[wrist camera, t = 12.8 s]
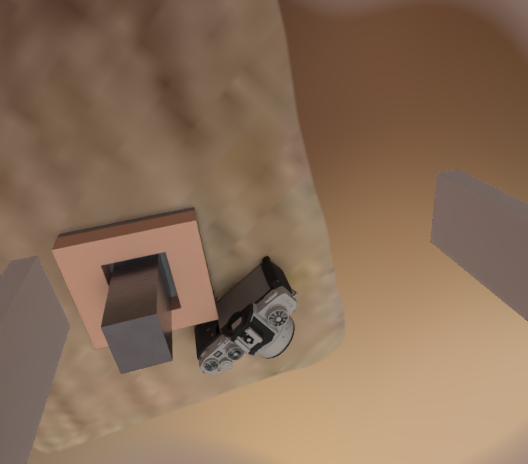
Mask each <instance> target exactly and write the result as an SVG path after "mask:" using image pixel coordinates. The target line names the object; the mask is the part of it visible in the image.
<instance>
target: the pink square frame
mask: <svg viewBox="0 0 528 464" xmlns="http://www.w3.org/2000/svg"><path fill="white" fill-rule="evenodd" d="M52 252H53V254H54V256H55V259H56V261H57V263H58V265H59V268H60V270H61V272H62V274H63V277H64V279H65V281H66V283H67V286H68V288H69V290H70V293H71V295H72V297H73V299H74V302H75V304H76V306H77V308H78V311H79V313H80V315H81V317H82V320H83V322H84V324H85V326H86V329H87V331H88V333H89V335H90V338H91V340H92V342H93V344H94V347H95V349H97V348H101V347H106V346H109V345H108V343H107V341H106V339H105V336H104V334H103V332H102V330H101V323H102V318H103V314H104V309H105V304H106V299H107V295H108V290H109V285H110V280H111V276H112V271H113V266H114V263H115V262H120V261H125V260H129V259H134V258H139V257H143V256H148V255H153V254H157V253H160V256H161V260H162V263H163V266H164V269H165V273H166V276H167V279H168V282H169V286H170V289H171V315H172V330H176V329H180V328H184V327H188V326H193V325H197V324H201V323H205V322H209V321H213V320H218V319H219V318H218V313H217V308H216V302H215V298H214V293H213V289H212V285H211V280H210V276H209V271H208V267H207V263H206V258H205V254H204V249H203V245H202V241H201V236H200V232H199V227H198V223H197V219H196V214H195V210H194V208H189V209H184V210H179V211H174V212H169V213H164V214H159V215H154V216H149V217H144V218H139V219H134V220H129V221H124V222H119V223H114V224H109V225H104V226H99V227H95V228H90V229H85V230H80V231H75V232H70V233H65V234H60V235H59V236H58V238H57V240H56V242H55V244H54V246H53V248H52Z"/></svg>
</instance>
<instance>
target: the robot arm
mask: <svg viewBox="0 0 528 464" xmlns="http://www.w3.org/2000/svg"><path fill="white" fill-rule="evenodd" d="M431 243H432V244H434V245H435V246H436V247H437V248H439V249H440V250H441V251H442V252H443V253H445V254H446V255H447V256H449V257H450V258H451V259H452V260H453V261H455V262H456V263H457V264H458V265H459V266H461V267H462V268H463V269H464V270H466V271H467V272H468V273H469V274H470V275H472V276H473V277H474V278H475V279H476V280H478V281H479V282H480V283H481V284H483V285H484V286H485V287H487V288H488V289H489V290H490V291H491V292H492V293H494V294H495V295H496V296H497V297H499V298H500V299H501V300H502V301H503V302H505V303H506V304H507V305H508V306H510V307H511V308H512V309H513V310H514V311H516V312H517V313H518V314H519V315H521V316H522V317H523V318H524V319H525V320H527V321H528V204H527V203H525V202H523V201H521V200H519V199H517V198H515V197H513V196H511V195H509V194H507V193H505V192H503V191H501V190H499V189H497V188H495V187H492V186H490V185H488V184H486V183H484V182H482V181H480V180H478V179H476V178H474V177H472V176H470V175H468V174H466V173H464V172H462V171H460V170H458V169H455V170H450V171H445V172H441V173H437V177H436V188H435V198H434V209H433V220H432V230H431ZM69 327H70V324H69V321H68V319H67V317H66V315H65V313H64V311H63V309H62V307H61V304H60V302H59V300H58V298H57V296H56V294H55V292H54V289H53V287H52V285H51V283H50V281H49V279H48V277H47V274H46V272H45V270H44V268H43V266H42V264H41V262H40V259H39V257H38V256H33V257H28V258H23V259H19V260H14V261H10V263H9V265H8V266H7V268H6V269H5V271H4V272H3V274H2V275H1V277H0V464H27V462H28V458H29V455H30V452H31V449H32V446H33V442H34V439H35V436H36V433H37V430H38V426H39V423H40V420H41V417H42V414H43V411H44V407H45V404H46V401H47V398H48V395H49V391H50V388H51V385H52V382H53V379H54V375H55V372H56V369H57V366H58V363H59V359H60V356H61V353H62V350H63V347H64V343H65V340H66V337H67V334H68V331H69Z"/></svg>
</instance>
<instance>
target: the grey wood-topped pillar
mask: <svg viewBox="0 0 528 464" xmlns="http://www.w3.org/2000/svg"><path fill="white" fill-rule="evenodd" d="M101 330H102V332H103V334H104V336H105V339H106V341H107V343H108V345H109V348H110V350H111V352H112V355H113V357H114V359H115V361H116V364H117V366H118V368H119V371H120V373H121V374H123V373H127V372H131V371H135V370H139V369H142V368H146V367H150V366H154V365H158V364H161V363H165V362H169V361H173V356H172V315H171V289H170V286H169V282H168V279H167V276H166V273H165V269H164V266H163V263H162V260H161V256H160V253H157V254H153V255H148V256H143V257H139V258H134V259H129V260H125V261H120V262H115V263H114V266H113V271H112V276H111V280H110V285H109V290H108V295H107V299H106V304H105V309H104V314H103V318H102V323H101Z"/></svg>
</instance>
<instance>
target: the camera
mask: <svg viewBox="0 0 528 464" xmlns="http://www.w3.org/2000/svg"><path fill="white" fill-rule="evenodd" d="M297 295H298V293H297V292H296V291H294V290H293V289H291V287H290V285H289V283H288V281H287V279H286V277H285V275H284V273H283V271H282V269H281V268H279V267H278V266H277V265H276V264H275V263H274V262H272V261H271V260H270V258H269V257H265V258H264V259H263V262H262V263H260V264H259V265H258V266H257V267H256V268H255V269H254V270H252V271H251V272H250V273H249V274H248V275H247V276H246V277H244V278H243V279H242V280H241V281H240V282H239V283H238V284H237V285H235V286H234V287H233V288H232V289H231V290H230V291H229V292H227V293H226V294H225V295H224V296H223V297H222V298H221V299H220V300H218V301H217V302H216V308H217V313H218V318H219V319H218V320H213V321H209V322H205V323H201V324H197V325H195V328H194V330H195V340H196V350H197V358H198V360H199V366H200V369H201V370H202V371H203V373H204V374H206V373H207V374H209V375H211V376H215V375H217V374H219V373H221V372H223V371H224V370H228V369H231V367H232V365H233V364H232V363H234V362H235V361H236V360H239V359H241V358H242V357H243V356H244V353H246V354H248V355H249V356H251V357H253V356H256V355H258V354H259V355H260V356H262V357H264V358H267V359H268V358H274V357H276V356H278V355H280V354H281V353H282V352H283V351H284V350H285V349H286V348H287V347H288V346H289V344H290V342H291V340H292V338H293V335H294V330H295V327H294V322H293V320H292V318H291V317H290V316H289V315H290V314H291V313H292V312H293V311H294V310H295V308H296V307H297V301H296V299H295V297H296V296H297Z"/></svg>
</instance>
